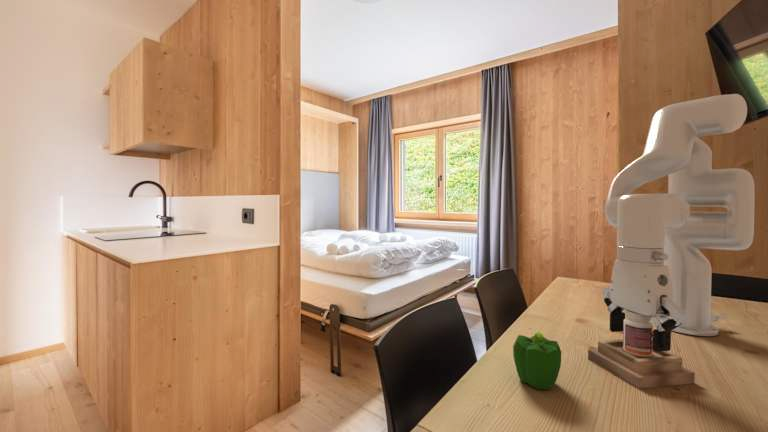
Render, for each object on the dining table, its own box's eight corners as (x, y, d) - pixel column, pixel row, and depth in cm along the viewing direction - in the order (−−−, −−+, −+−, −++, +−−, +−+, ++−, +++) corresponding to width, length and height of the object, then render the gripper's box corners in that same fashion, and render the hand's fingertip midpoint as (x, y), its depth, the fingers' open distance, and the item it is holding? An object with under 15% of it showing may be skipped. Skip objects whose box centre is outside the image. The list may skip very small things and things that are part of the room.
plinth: (636, 354, 74) (636, 335, 73) (694, 383, 62) (694, 360, 62) (588, 358, 72) (588, 339, 72) (638, 388, 60) (639, 365, 60)
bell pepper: (516, 367, 68) (516, 319, 68) (561, 378, 64) (562, 326, 63) (508, 386, 61) (509, 332, 60) (559, 400, 56) (560, 342, 56)
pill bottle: (658, 358, 64) (659, 316, 64) (630, 356, 65) (631, 314, 65) (644, 348, 69) (644, 308, 68) (618, 346, 70) (619, 307, 69)
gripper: (703, 262, 58) (700, 358, 59) (618, 249, 75) (617, 324, 76) (666, 263, 57) (664, 361, 57) (589, 250, 74) (588, 326, 75)
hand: (637, 340), depth 67 cm, fingers open, 9 cm apart
